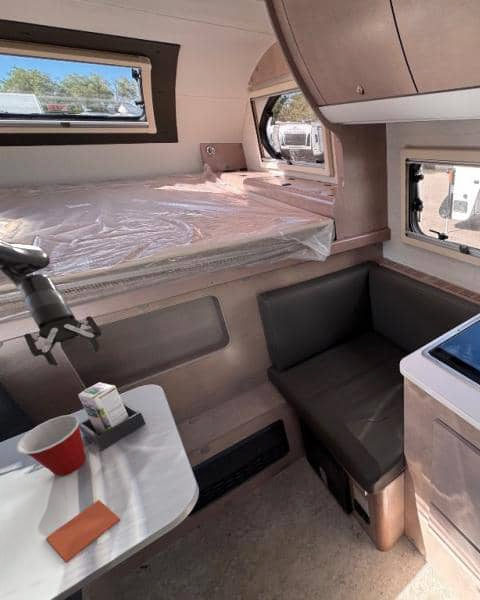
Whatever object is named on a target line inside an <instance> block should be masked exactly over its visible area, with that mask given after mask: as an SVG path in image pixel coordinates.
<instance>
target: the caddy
mask: <svg viewBox="0 0 480 600" xmlns="http://www.w3.org/2000/svg"><path fill="white" fill-rule="evenodd" d="M122 403H123V405H124V407H125V409H126V412H127V414H128V416H129V418H128V419H126V420H124V421H123V422H121V423H119V424H117V425H116V426H114V427H112V428H111V429H109V430H107V431H106V432H104V433H102V434H100V435H98V434H97V432H96V431H95V429H94V427H93V425H92V423H91V421H90V419H89V417H88V418H86V419H84V420H83V421H80V422H79V429H80V432H81V433H82V436H83V437H84V438H86V439H88V441H90V442H91V443H93V445H95V446H96V447H98V448H99V449H100V450H102V451H105V450H107V449H109V447H111V446H113V445H114V444H117V443H118V442H120V441H121V440H123V439H125V438H126V437H127V436H129V435H131V434H132V433H134V432H135V431H137V430H138V429H140V428H142V427H144V426H146V421H145V419H144V416H143V414H142V412H141V411H140V410H138V409H137V408H135V407H133V406H131V405H130V404H128V403H127V402H125V401H123V400H122Z"/></svg>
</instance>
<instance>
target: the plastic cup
mask: <svg viewBox="0 0 480 600" xmlns="http://www.w3.org/2000/svg"><path fill="white" fill-rule="evenodd" d="M79 423H81V421H80V419H79V417H78V416H77V415H73V414H66V415H60V416H57V417H54V418H51V419H48V420H47V421H44V422H42V423H40V424H38V425H37V426H35V427H34V428H32V429H31V430H29V431H28V432H26V433H25V434H24V435H23V436H22V438H21V439H20V440H19V441H18V443H17V445H16V450H17V452H18V453H20V454H22V455H23V454H24V455H27V456H30V457H31V458H33V459H34V460H35V461H36V462H38V463H39V464H40V465H42V466H43V467H44V468H46V469H48V470H49V471H50V472H51V473H52V474H53V475H56V476H58V477H65V476H68V475H70V474H72V473H74V472H76V471H77V470H79V469H80V468H82V467H83V465H84V464H85V463H86V459H87V455H86V452H85V446H84V441H83V437H82V434H81V430H80V428H79Z"/></svg>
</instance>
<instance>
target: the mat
mask: <svg viewBox="0 0 480 600" xmlns="http://www.w3.org/2000/svg"><path fill="white" fill-rule="evenodd" d="M120 520H121V518H120V517H119V516H118V515H117V514H115V513H114V512H113V511H112V510H111V509H110V508H109V507H108V506H106V505H105V504H104V503H103V502H102V501H101V500H100V499H97V500H96V501H95V502H93V503H91V505H89V506H88V507H87V508H85V509H84V510H82V511H81V512H80V513H78V514H77V515H75V516H74V517H73V518H71V519H70V520H68V521H67V522H66V523H64V524H63V525H62V526H60V527H59V528H57V529H56V530H54V531H53V532H52V533H50V534H49V535H47V537H45V540H46V541H47V542H48V543H49V544H50V545H51V547H52V548H53V549H54V550H55V551H56V552H57V553H58V554H59V555H60V556H61V558H62V559H63V560H64V561H65V562H66V563H68V562H69V561H70V560H72V559H74V557H76V556H77V555H78V554H79V553H81V552H82V551H83V550H85V549H86V548H87V547H88V546H90V544H92V543H93V542H94V541H96V540H97V539H98V538H100V536H102V535H103V534H104V533H105V532H107V531H108V530H109V529H111V528H112V527H113V526H114V525H116V524H117V523H118V522H120Z"/></svg>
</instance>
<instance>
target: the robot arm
mask: <svg viewBox="0 0 480 600" xmlns="http://www.w3.org/2000/svg"><path fill="white" fill-rule="evenodd" d="M50 263H51V257H50V256H49V254H48V253H47V252H46V251H45V250H43V249H42V248H40V247H38V246H36V245H33V244H29V243H23V242H13V241H5V240H3V239H0V274H2V275H3V276H4V277H5V278H6V279H8V280H9V281H10V282H11V283H12V284H13V285H14V286H15V287H16V288H17V290H18V291H19V292H20V294H21V296H22V299H23V300H24V301H25V302H24V303H25V305H26V308H27V310H28V312H29V314H30V316H31V318H32V319H33V321H34V322H35V324H36V326H37V328H38V332H35V333H25V334H24V335H23V336H24V339H25V342H26V343H27V346H28V348H29V351H30V353H31V355H32V356H33V357H39V356H43V357H44V358H45V360H46V362H47V364H48V365H50V366H52V365H53V366H54V367H57V366H59V364H58V362H57V360H56V359H55V357H54V355H53V353H52V350H53V349H54V347H55V345H56V343H60V344H61V343H63V342H66V341H67V340H68V341H69V340H73V339H75V338H76V337H78V338H80V339H85V340H87V341H88V343H89V344H90V346H91V348H92V349H93V351H94V353H96V352H99V349H100V343H99V342H98V340H97V338H98V337H100V336H102V329H101V328H100V327H99V325H98V324H97V323H96V321H95V320H94V318H93V317H92V316H90V315H89V316H86V317H85V318H84V319H81V320H78V319H77V318H76V316H75V315H74V313H73V311H72V309H71V308H70V306H69V305H68V303H67V301H66V299H65V298H64V296H63V294H61V292H60V291H59V289H58V288H57V285H56V284H55V281H54V280H53V279H52V278H51V277H50V276H49V275H46V274H42V273H39V274H37V273H36V272H38V271H41V270H43V269H45V268H47V267H49V265H50ZM34 273H36V274H34ZM82 325H84V326H86V327H90V329H91V330H92V333H91V332H89V331H87V330H84V329H82V328H81V327H82ZM39 338H42V339H45V342H44V345H43V347H42V348H38V346H37V345H36V342H38V341H39Z"/></svg>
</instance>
